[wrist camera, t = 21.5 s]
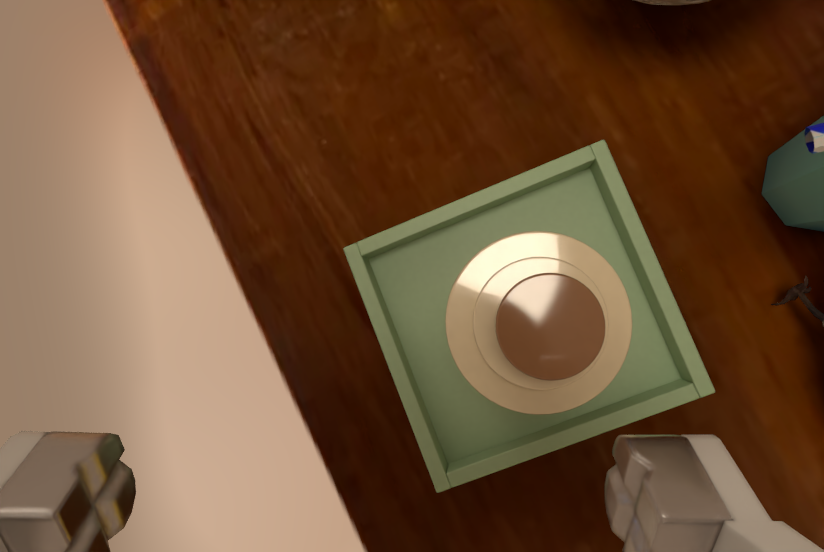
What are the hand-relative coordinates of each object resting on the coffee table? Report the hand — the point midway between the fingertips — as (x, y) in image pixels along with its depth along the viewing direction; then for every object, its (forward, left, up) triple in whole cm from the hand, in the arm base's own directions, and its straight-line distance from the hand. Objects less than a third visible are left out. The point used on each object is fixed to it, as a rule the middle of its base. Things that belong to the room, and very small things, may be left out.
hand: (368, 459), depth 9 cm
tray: (+4, 0, -23) cm, 23 cm away
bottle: (+4, 0, -22) cm, 22 cm away
